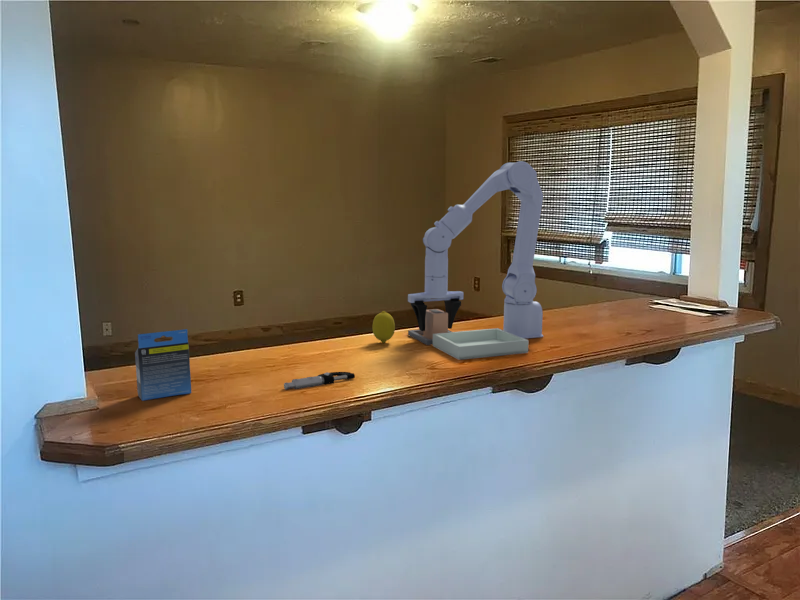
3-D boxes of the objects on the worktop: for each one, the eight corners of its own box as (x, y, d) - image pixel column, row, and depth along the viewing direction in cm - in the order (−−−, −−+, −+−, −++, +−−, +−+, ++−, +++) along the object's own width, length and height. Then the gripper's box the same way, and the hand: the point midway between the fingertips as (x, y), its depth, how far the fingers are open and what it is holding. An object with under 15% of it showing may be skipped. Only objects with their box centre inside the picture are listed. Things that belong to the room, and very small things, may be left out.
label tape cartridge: (187, 388, 126) (183, 324, 124) (191, 394, 123) (188, 328, 121) (137, 395, 122) (133, 329, 120) (141, 401, 118) (136, 334, 116)
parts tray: (497, 339, 167) (497, 328, 167) (528, 352, 155) (528, 340, 154) (432, 345, 161) (432, 333, 160) (458, 359, 148) (459, 346, 147)
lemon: (368, 343, 162) (368, 311, 161) (379, 339, 167) (379, 308, 166) (388, 346, 160) (388, 313, 158) (398, 341, 165) (399, 310, 163)
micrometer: (343, 373, 139) (342, 361, 138) (358, 381, 133) (358, 369, 132) (274, 383, 131) (273, 371, 131) (287, 393, 125) (286, 380, 125)
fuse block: (437, 335, 172) (437, 308, 171) (447, 340, 167) (448, 312, 165) (423, 336, 171) (423, 309, 169) (433, 341, 165) (433, 313, 164)
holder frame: (442, 332, 176) (443, 327, 176) (463, 341, 165) (463, 337, 165) (408, 334, 172) (408, 330, 172) (427, 345, 161) (427, 340, 161)
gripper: (455, 272, 172) (454, 323, 175) (403, 275, 167) (403, 328, 169) (467, 276, 166) (466, 329, 168) (414, 278, 160) (413, 333, 163)
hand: (435, 329), depth 168 cm, fingers open, 7 cm apart
